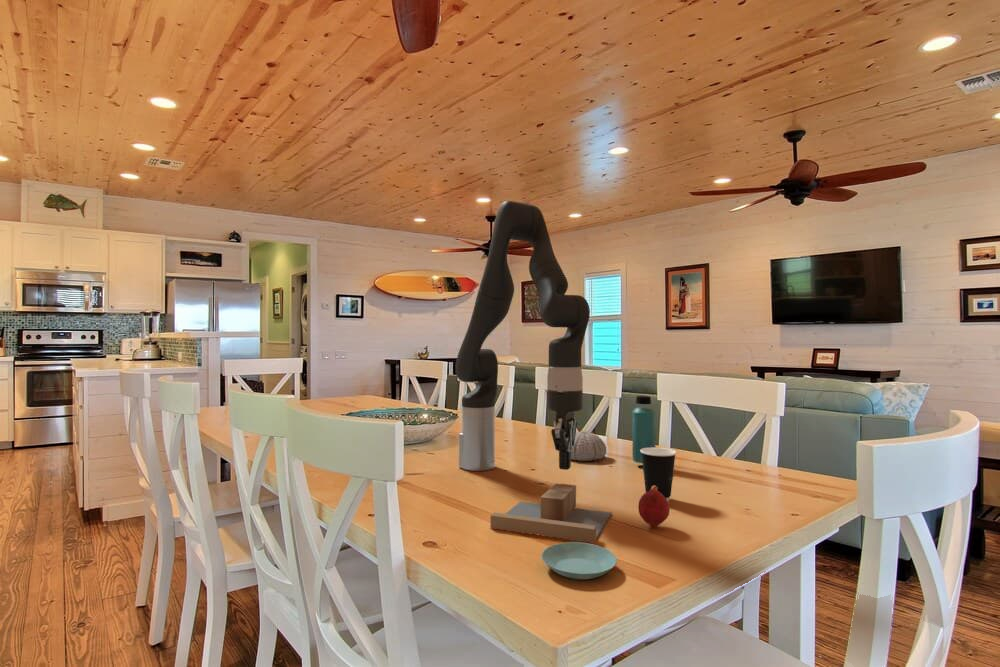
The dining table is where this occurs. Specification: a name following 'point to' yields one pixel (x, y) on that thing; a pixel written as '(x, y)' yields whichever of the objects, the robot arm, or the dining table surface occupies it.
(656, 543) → the dining table surface
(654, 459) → the dixie cup
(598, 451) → the sea urchin shell
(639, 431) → the beverage bottle
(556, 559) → the saucer
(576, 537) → the grey flat slab
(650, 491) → the onion
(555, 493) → the cardboard box
